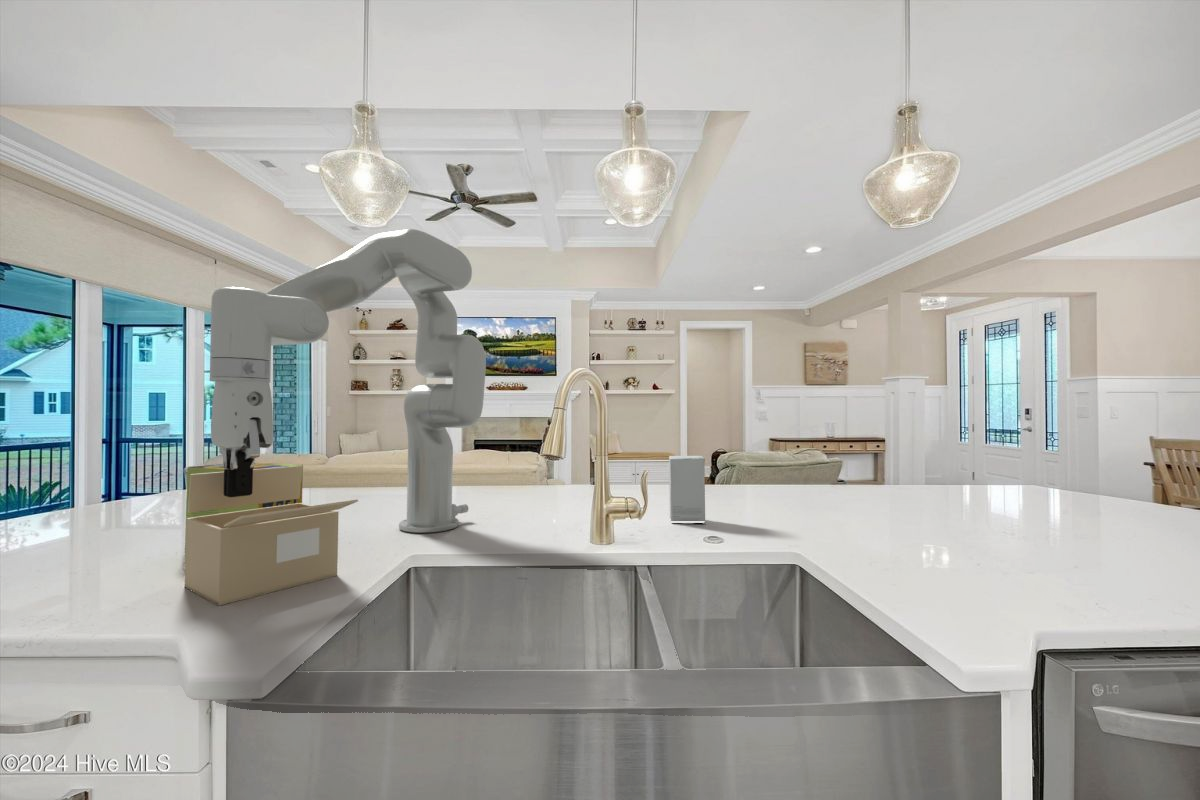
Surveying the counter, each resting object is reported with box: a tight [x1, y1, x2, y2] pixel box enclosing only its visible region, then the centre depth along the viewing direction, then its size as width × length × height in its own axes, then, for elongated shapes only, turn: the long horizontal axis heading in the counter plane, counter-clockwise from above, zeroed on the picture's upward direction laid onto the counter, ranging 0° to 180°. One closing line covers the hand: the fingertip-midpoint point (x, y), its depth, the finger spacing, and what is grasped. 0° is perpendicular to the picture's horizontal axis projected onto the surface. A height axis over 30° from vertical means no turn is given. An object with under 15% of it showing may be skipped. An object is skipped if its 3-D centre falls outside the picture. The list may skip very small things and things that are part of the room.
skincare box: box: [668, 455, 706, 522], centre depth 126 cm, size 8×7×16 cm
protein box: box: [184, 462, 304, 553], centre depth 97 cm, size 10×15×16 cm
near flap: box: [224, 498, 359, 527], centre depth 75 cm, size 16×6×1 cm, turn 145°
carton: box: [184, 502, 340, 607], centre depth 80 cm, size 16×12×10 cm
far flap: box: [188, 466, 302, 513], centre depth 83 cm, size 16×6×1 cm
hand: (238, 495), depth 79 cm, fingers closed
